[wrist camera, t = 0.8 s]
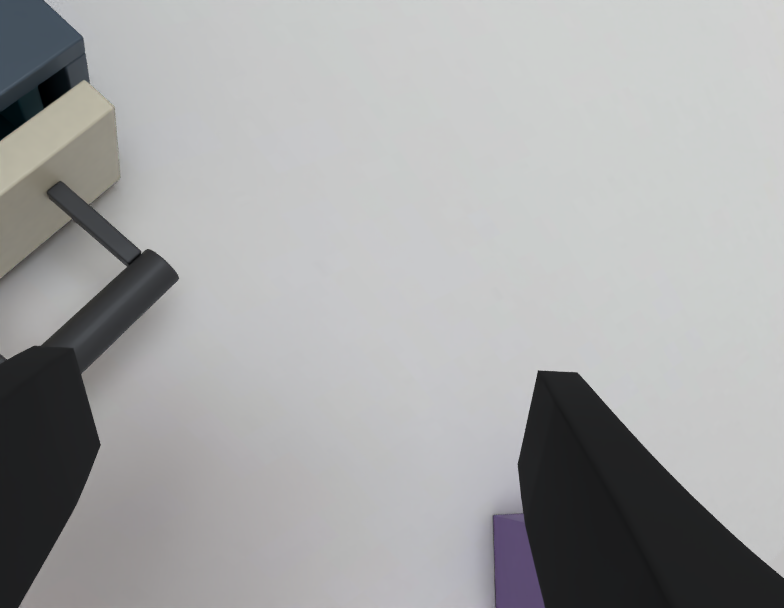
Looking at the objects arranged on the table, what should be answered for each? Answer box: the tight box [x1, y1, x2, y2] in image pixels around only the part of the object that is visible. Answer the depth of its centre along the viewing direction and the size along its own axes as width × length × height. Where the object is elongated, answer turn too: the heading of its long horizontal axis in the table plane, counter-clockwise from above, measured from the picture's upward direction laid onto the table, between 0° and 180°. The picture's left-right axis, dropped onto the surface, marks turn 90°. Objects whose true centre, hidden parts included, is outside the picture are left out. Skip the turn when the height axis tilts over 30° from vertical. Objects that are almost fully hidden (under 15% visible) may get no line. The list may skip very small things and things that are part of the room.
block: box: [493, 514, 545, 608], centre depth 26 cm, size 4×4×4 cm
